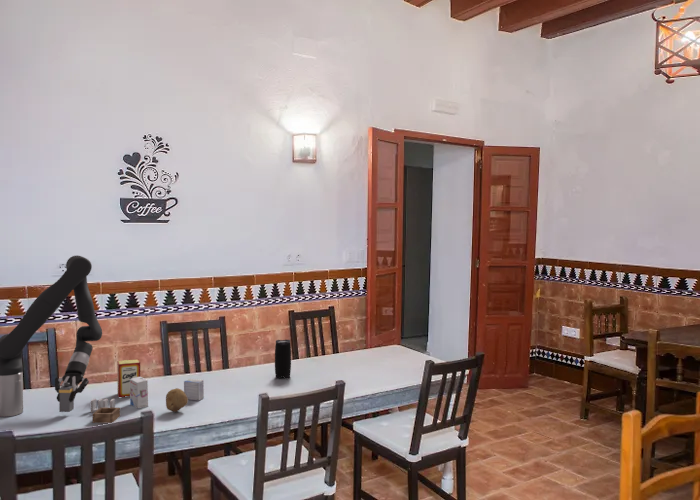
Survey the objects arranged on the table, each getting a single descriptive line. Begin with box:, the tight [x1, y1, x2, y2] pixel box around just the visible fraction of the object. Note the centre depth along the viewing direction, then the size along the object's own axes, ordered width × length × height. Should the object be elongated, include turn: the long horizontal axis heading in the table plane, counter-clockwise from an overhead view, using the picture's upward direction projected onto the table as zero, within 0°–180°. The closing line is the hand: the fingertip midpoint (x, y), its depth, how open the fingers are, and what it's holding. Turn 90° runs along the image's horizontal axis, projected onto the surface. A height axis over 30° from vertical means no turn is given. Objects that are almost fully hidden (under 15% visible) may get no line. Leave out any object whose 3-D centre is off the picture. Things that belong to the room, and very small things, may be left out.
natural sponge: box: [165, 387, 189, 413], centre depth 235 cm, size 9×9×10 cm
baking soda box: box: [116, 359, 141, 398], centre depth 259 cm, size 10×6×16 cm
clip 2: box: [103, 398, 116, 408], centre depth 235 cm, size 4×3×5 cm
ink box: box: [129, 376, 149, 409], centre depth 243 cm, size 9×5×12 cm, turn 45°
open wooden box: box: [92, 407, 121, 424], centre depth 225 cm, size 8×8×4 cm
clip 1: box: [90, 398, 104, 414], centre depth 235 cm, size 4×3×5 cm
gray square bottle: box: [58, 382, 75, 413], centre depth 229 cm, size 4×4×12 cm
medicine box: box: [183, 378, 205, 401], centre depth 253 cm, size 8×4×9 cm, turn 74°
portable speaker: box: [274, 339, 292, 379], centre depth 292 cm, size 9×9×20 cm
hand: (64, 400), depth 227 cm, fingers closed on gray square bottle, 4 cm apart
